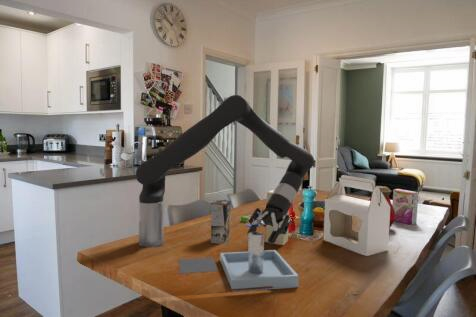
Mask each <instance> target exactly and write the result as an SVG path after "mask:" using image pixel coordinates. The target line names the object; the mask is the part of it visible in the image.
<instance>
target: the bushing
mask: <svg viewBox="0 0 476 317" xmlns="http://www.w3.org/2000/svg"><path fill="white" fill-rule="evenodd" d="M247 240H248V242H247V245H248V246H247V248H248V249H247V252H248V271H249V272H250V273H253V274H260V273H263V272H264V251H265V233H264V232H261V231H256V232H250V233H248V232H247Z"/></svg>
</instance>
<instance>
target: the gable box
mask: <svg viewBox="0 0 476 317" xmlns="http://www.w3.org/2000/svg"><path fill="white" fill-rule="evenodd" d="M338 180H339V181H335V185H334V186H333V188H332V189H331V191H330V192H329V193H328V195H327V197H326V198H325V199H324V217H323V219H324V220H323V241H325V242H327V243H331V244H332V245H336V246H339V248H340V247H341V248H343V249H346V250H349V251H352V252H354V253H356V254H359V255H362V256H365V257H368V256H372V255H376V254H380V253H383V252H388V250H389V236H390V229H389V223H390V206H389V204H388V202H387V200H386V199H385V197H384V195H383V194H382V192H381V189H379V188H377V187H376V186H377V184H376V180H375V179H372V178H367V177H359V176H353V175H346V174H342V175H341V176H340V177H338ZM345 187H347V188H353V189H358V190H361V191H362V190H363V191H368V192H370V191H372V196H371V195H370V197H371V201H369V200H368V199H363V198H360V197H354V196H350V195H346V190H345ZM352 216H354V217H357V218H359V219H360V220H361V225H360V228H359V230H358V231H355V230H353V227H352V226H353V217H352Z"/></svg>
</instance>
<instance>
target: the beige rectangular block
mask: <svg viewBox="0 0 476 317" xmlns="http://www.w3.org/2000/svg"><path fill="white" fill-rule="evenodd" d="M274 190H275V189H272V190H268V191H267V192H266V203H267V202H268V200H269V199H270V197H271V195H272V193H273V192H274ZM286 215H289V216H290V210H289V211H288V212H287V214H286ZM282 223H283V221H281V222H280V227H281V225H282ZM272 231H274V226H270V225H265V236H264V243H268V244H270V243H269V242H268V239H269V237H270V235H271V233H272ZM287 242H289V229H288V230H287V232H286V234H285V235H284V234H280V235H278V237H277V239H276V241H275V242H274V243H273V244H272V245H279V246H284V245H285V244H286V243H287Z"/></svg>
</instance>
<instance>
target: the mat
mask: <svg viewBox="0 0 476 317" xmlns="http://www.w3.org/2000/svg"><path fill="white" fill-rule="evenodd" d="M178 266H179V274H180V275H182V274H196V273H209V272H211V273H213V272H218V271H219V269H218V267H217V264H216V262H215V258H214V257H213V256H212V257H197V258H196V257H195V258H194V257H193V258H180V259H179V258H178Z"/></svg>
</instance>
